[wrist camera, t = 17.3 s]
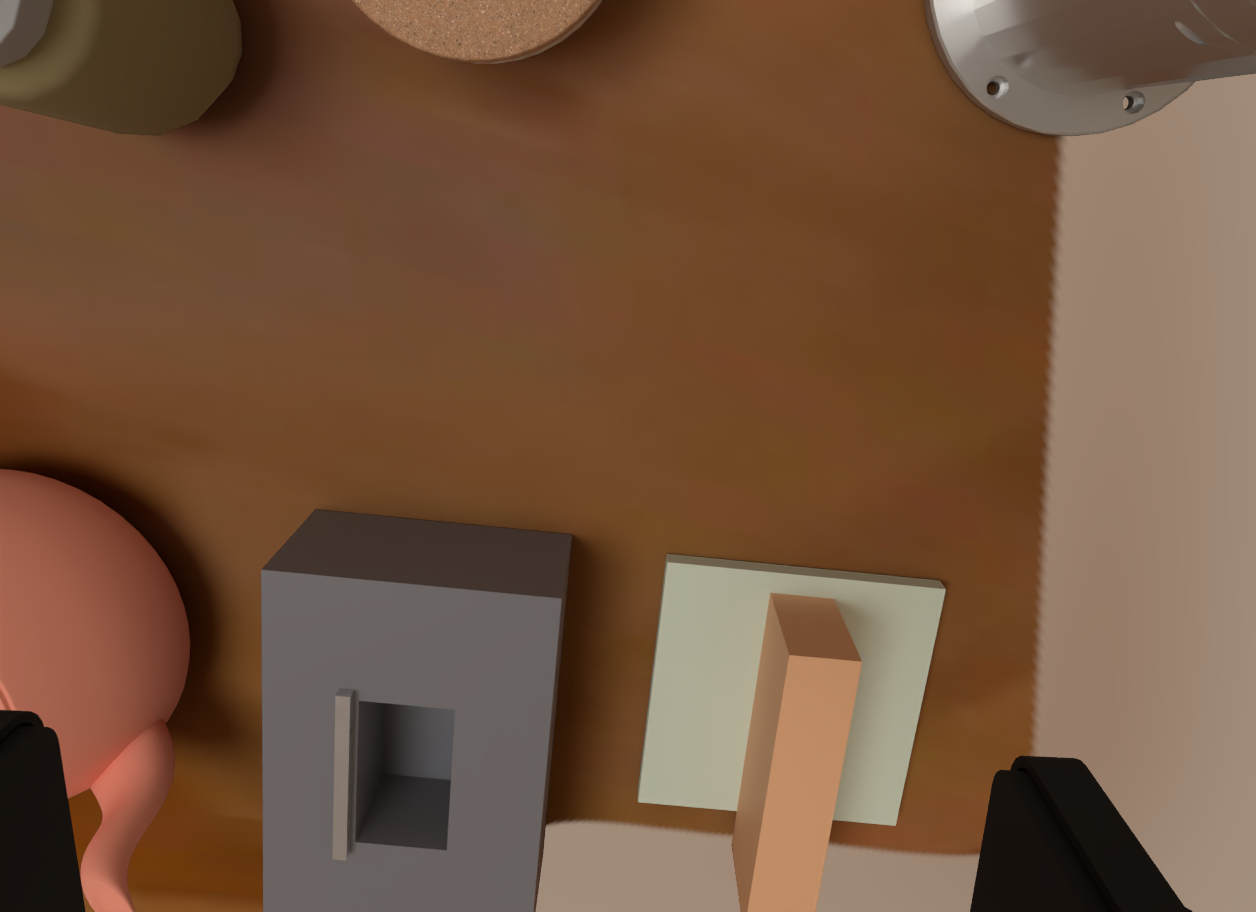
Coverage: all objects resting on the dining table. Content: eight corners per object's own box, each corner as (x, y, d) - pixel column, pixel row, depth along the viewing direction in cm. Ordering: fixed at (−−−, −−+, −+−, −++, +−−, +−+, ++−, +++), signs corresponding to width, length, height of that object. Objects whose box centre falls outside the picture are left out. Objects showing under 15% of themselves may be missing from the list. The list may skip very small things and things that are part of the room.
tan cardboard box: (862, 661, 41) (810, 939, 45) (834, 598, 46) (790, 850, 50) (789, 655, 41) (743, 934, 45) (770, 592, 46) (731, 845, 50)
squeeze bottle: (37, 56, 41) (-402, -14, 23) (130, -124, 39) (-273, -345, 22) (210, 177, 42) (-85, 196, 25) (309, 10, 40) (64, -97, 23)
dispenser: (572, 534, 47) (560, 605, 39) (542, 855, 52) (527, 970, 45) (315, 509, 46) (255, 575, 39) (311, 834, 52) (258, 946, 44)
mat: (939, 580, 47) (945, 589, 46) (890, 812, 51) (895, 825, 50) (666, 553, 47) (667, 562, 46) (637, 789, 51) (638, 802, 50)
